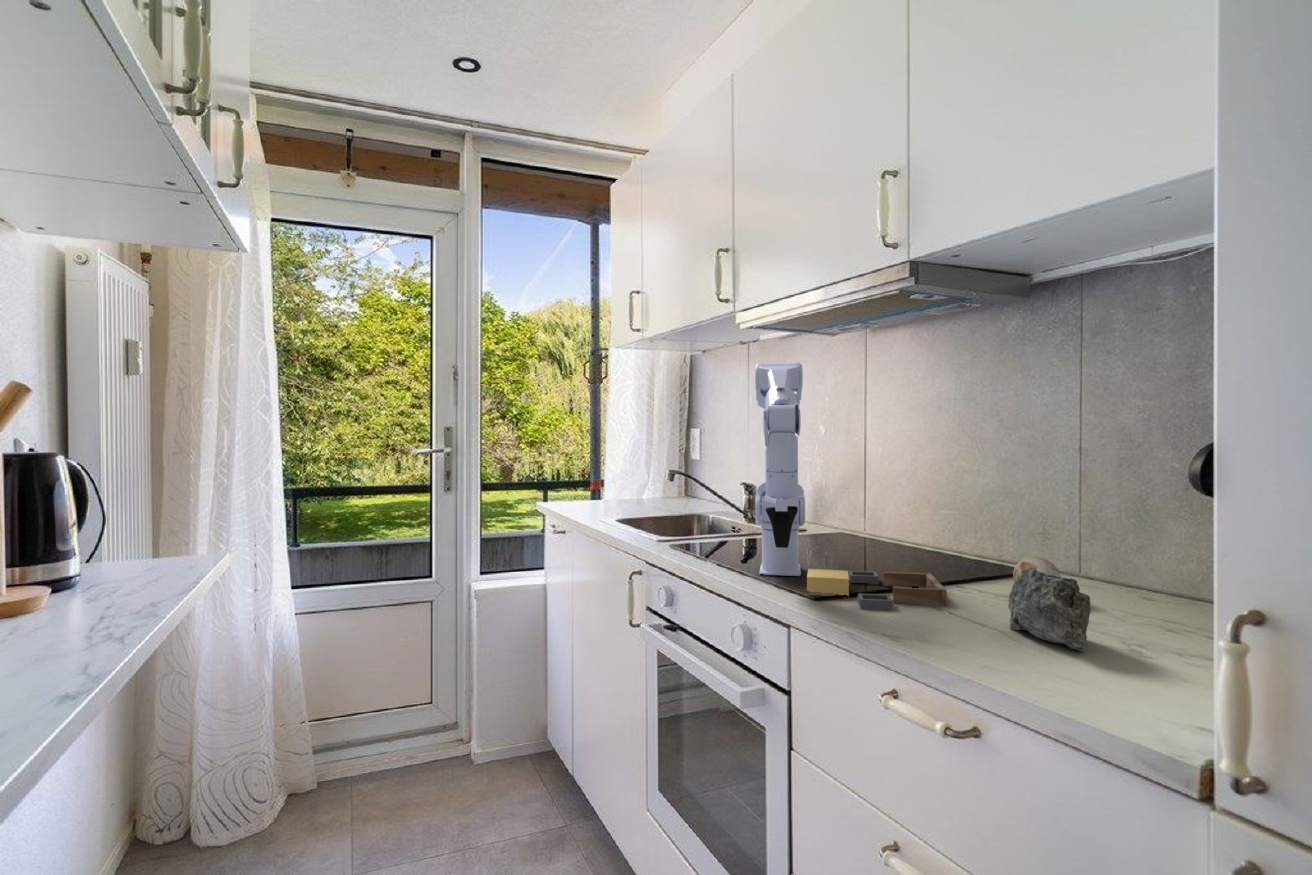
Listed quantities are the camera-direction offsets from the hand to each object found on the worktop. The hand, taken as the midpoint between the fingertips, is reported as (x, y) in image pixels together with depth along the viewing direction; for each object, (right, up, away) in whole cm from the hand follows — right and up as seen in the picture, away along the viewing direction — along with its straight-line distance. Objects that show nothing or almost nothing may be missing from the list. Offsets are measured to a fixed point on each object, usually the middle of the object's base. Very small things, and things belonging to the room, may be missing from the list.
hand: (781, 547), depth 124 cm
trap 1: (+16, -8, +6) cm, 19 cm away
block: (+8, -8, -1) cm, 11 cm away
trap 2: (+13, -8, -11) cm, 19 cm away
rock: (+31, -8, -29) cm, 43 cm away
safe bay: (+22, -8, -4) cm, 23 cm away
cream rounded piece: (+41, -8, -10) cm, 43 cm away
